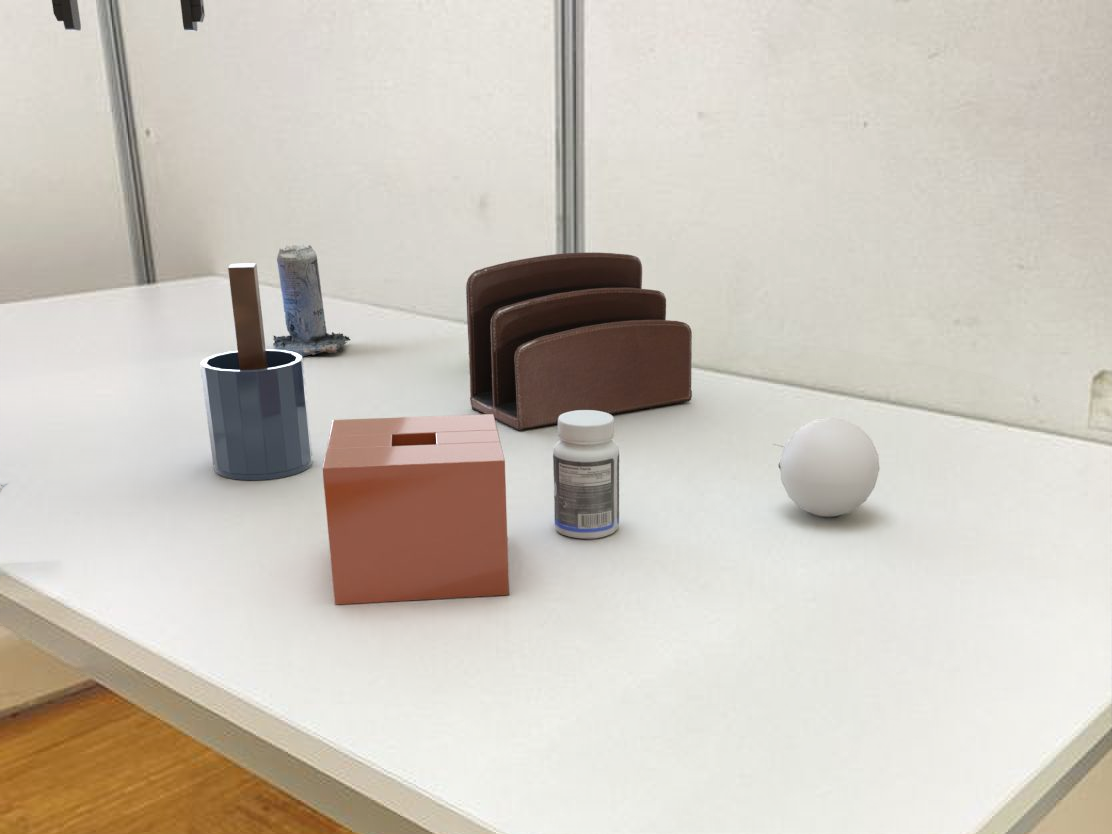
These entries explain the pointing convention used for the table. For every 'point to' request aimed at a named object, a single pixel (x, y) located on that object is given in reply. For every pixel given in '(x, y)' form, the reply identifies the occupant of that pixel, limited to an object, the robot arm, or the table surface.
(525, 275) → the letter holder
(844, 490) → the white ball
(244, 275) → the stick
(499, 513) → the tissue box
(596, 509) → the pill bottle
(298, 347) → the beverage can
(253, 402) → the cup
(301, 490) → the table surface
